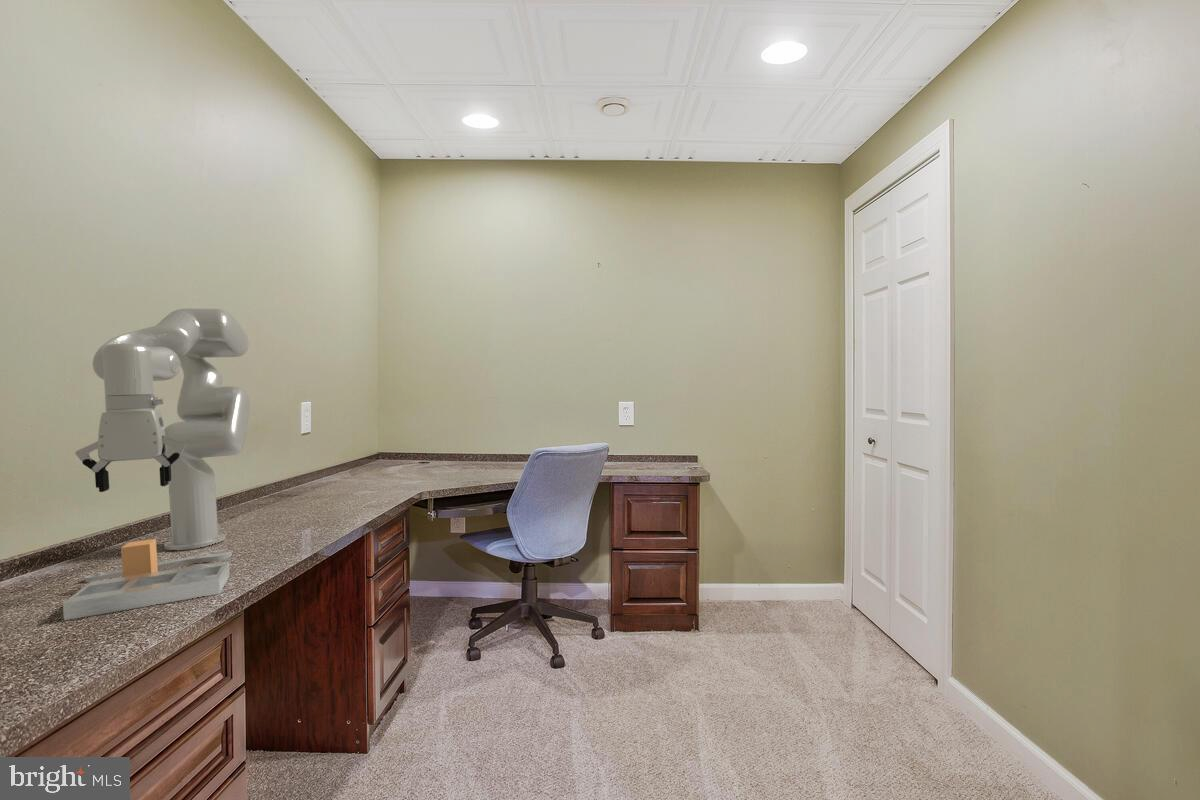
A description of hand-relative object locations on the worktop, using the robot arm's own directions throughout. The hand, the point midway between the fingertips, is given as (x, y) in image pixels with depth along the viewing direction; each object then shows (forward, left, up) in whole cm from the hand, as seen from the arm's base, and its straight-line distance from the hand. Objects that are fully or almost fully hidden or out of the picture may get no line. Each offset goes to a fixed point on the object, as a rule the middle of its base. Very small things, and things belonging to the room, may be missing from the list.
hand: (135, 488), depth 110 cm
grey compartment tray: (+12, +5, -19) cm, 23 cm away
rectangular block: (0, 0, -19) cm, 19 cm away
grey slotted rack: (-10, +2, -20) cm, 22 cm away
